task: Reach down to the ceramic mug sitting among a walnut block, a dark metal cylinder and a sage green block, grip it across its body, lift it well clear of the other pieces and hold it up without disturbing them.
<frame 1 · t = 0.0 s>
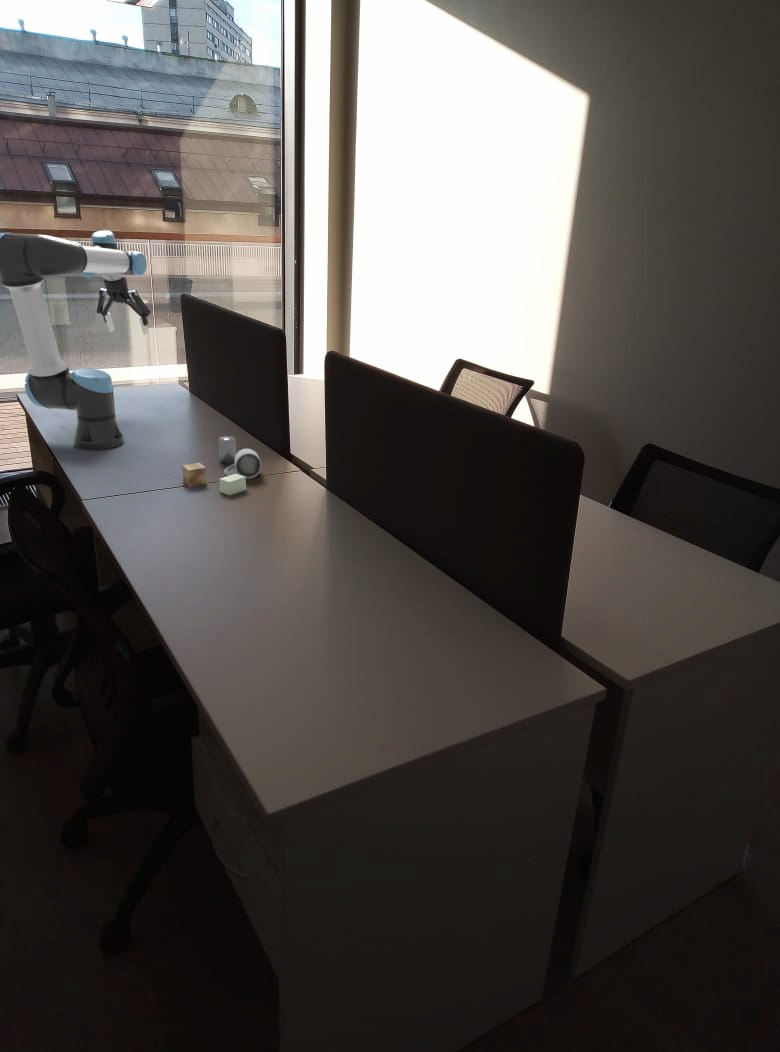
hand: (129, 331, 285), 28 cm above the table, tool tilted 20°, fingers open, 13 cm apart
sage green block: (233, 491, 213), on the table
walnut block: (195, 483, 218), on the table
dark metal cylinder: (228, 460, 238), on the table
ceramic mug: (243, 475, 226), on the table
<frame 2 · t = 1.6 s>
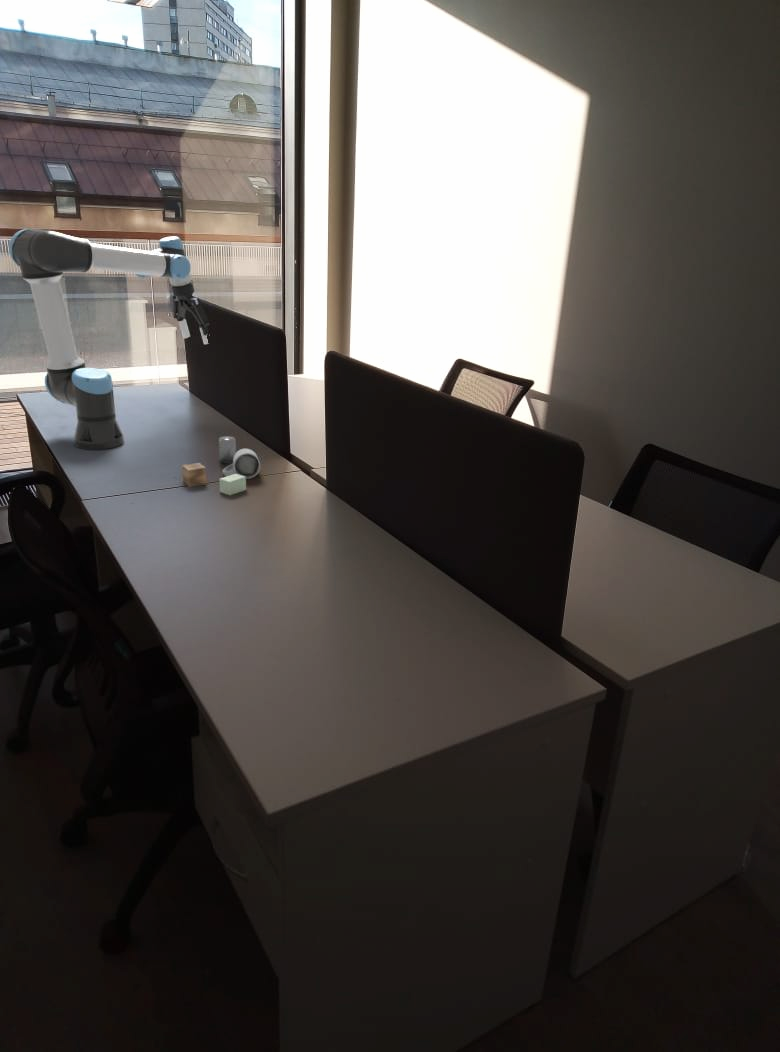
hand: (197, 340, 283), 26 cm above the table, tool pointing down, fingers open, 13 cm apart
nothing on the table moved.
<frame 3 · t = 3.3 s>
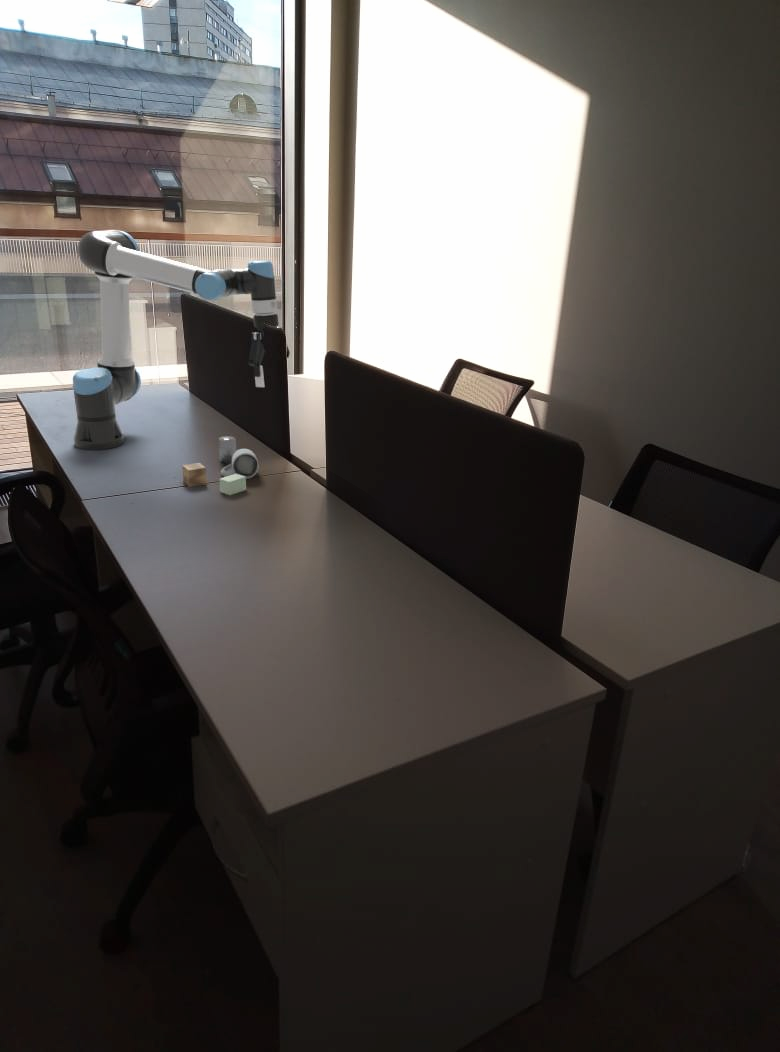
hand: (272, 382, 244), 21 cm above the table, tool pointing down, fingers open, 13 cm apart
nothing on the table moved.
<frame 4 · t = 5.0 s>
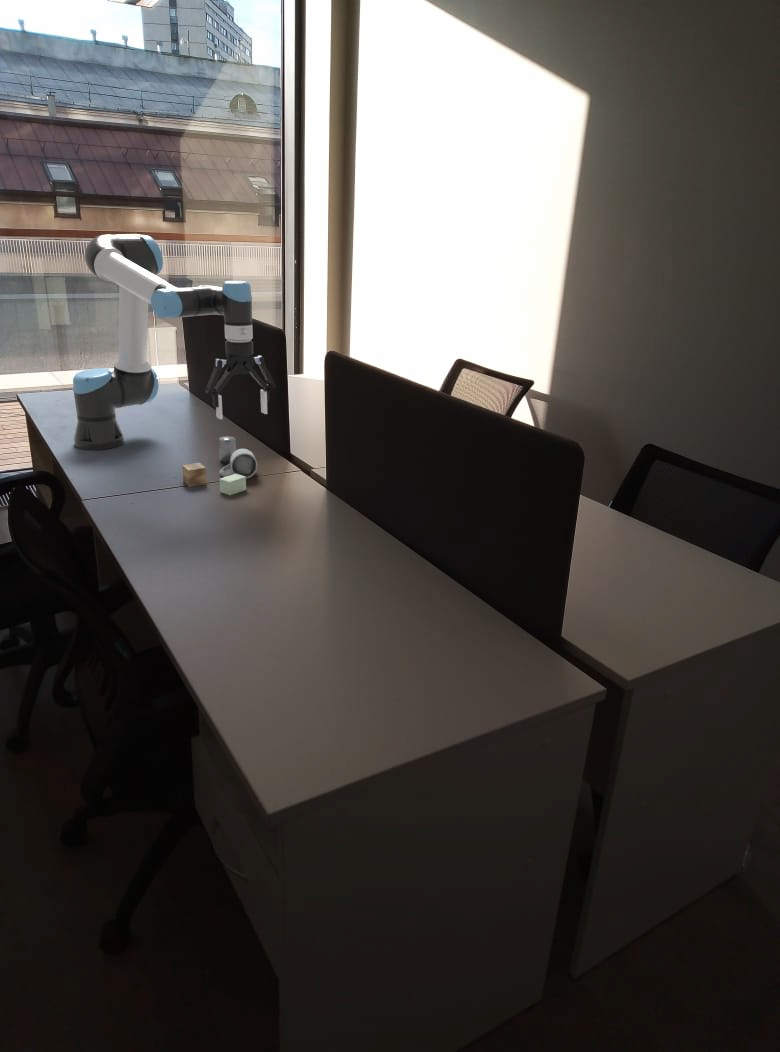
hand: (242, 415, 219), 18 cm above the table, tool pointing down, fingers open, 13 cm apart
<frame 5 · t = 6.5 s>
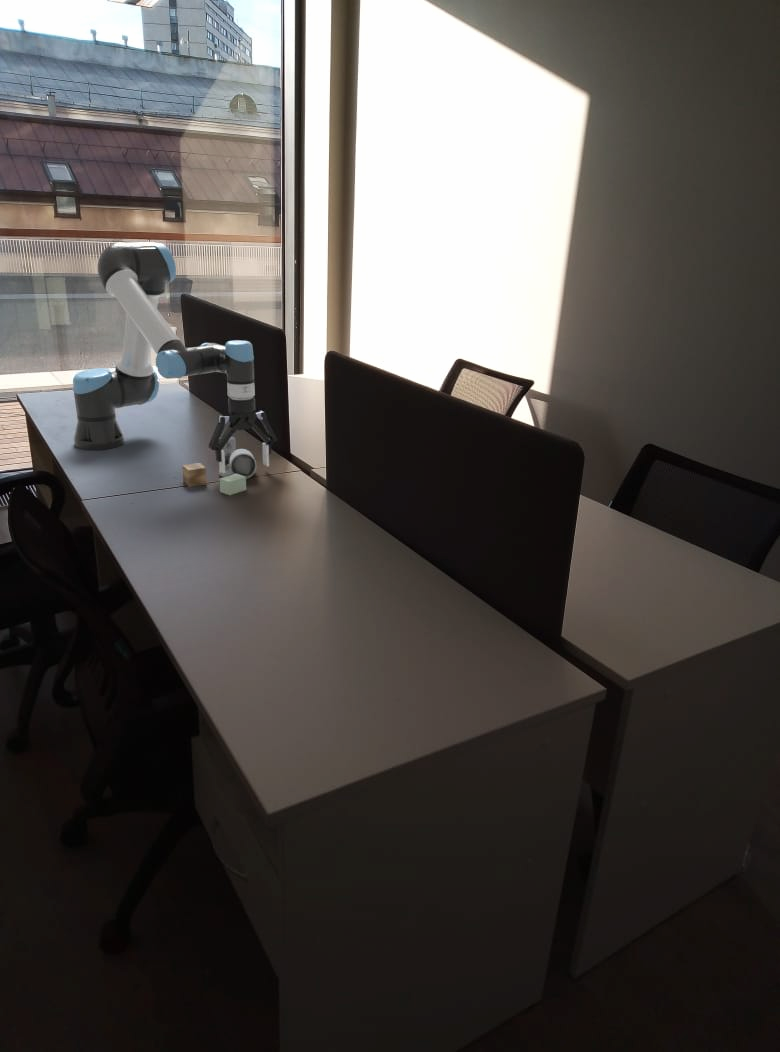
hand: (244, 468, 225), 2 cm above the table, tool pointing down, fingers open, 13 cm apart
ceramic mug: (238, 476, 225), on the table, touching gripper
everything else where it was.
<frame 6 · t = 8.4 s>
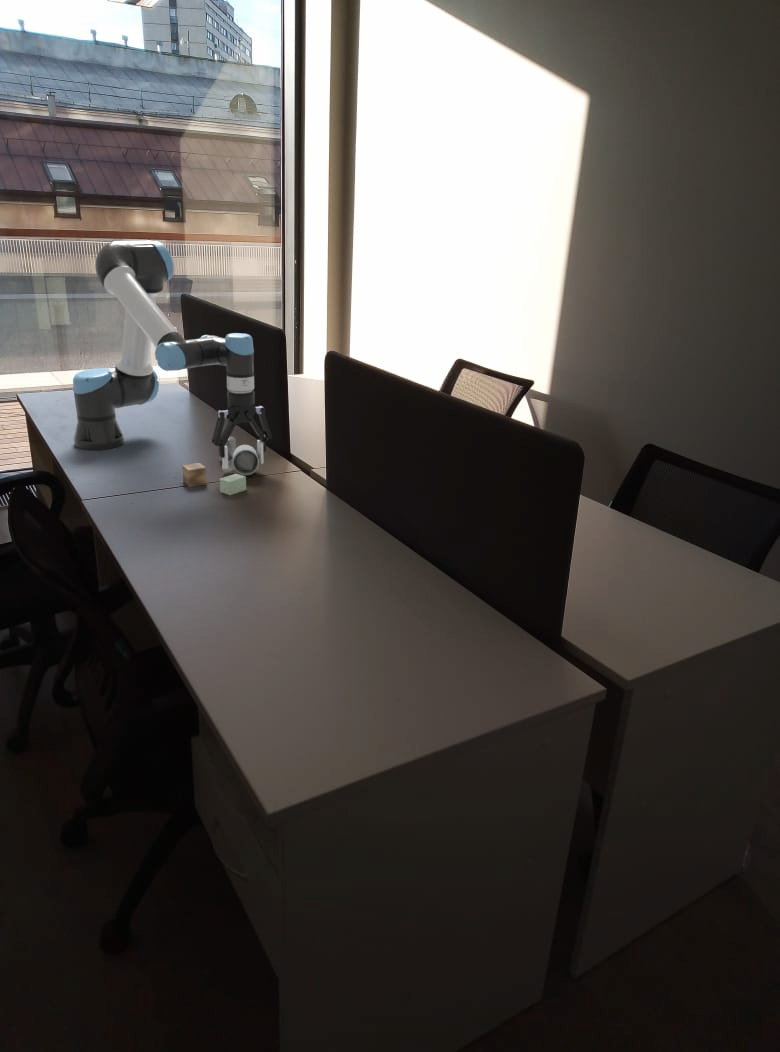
hand: (243, 464, 225), 3 cm above the table, tool pointing down, fingers closed on ceramic mug, 10 cm apart
ceramic mug: (241, 471, 226), point 1 cm above the table, touching gripper
everything else where it was.
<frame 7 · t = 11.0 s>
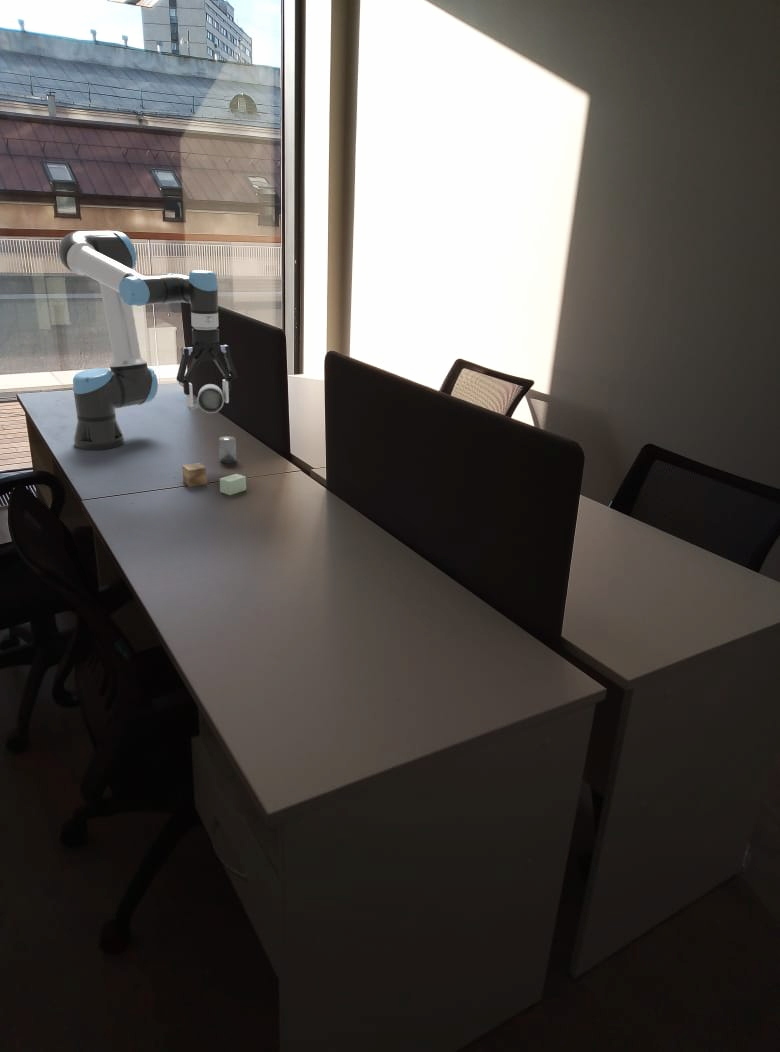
hand: (208, 403, 227), 19 cm above the table, tool pointing down, fingers closed on ceramic mug, 10 cm apart
ceramic mug: (206, 410, 229), point 16 cm above the table, touching gripper
everything else where it was.
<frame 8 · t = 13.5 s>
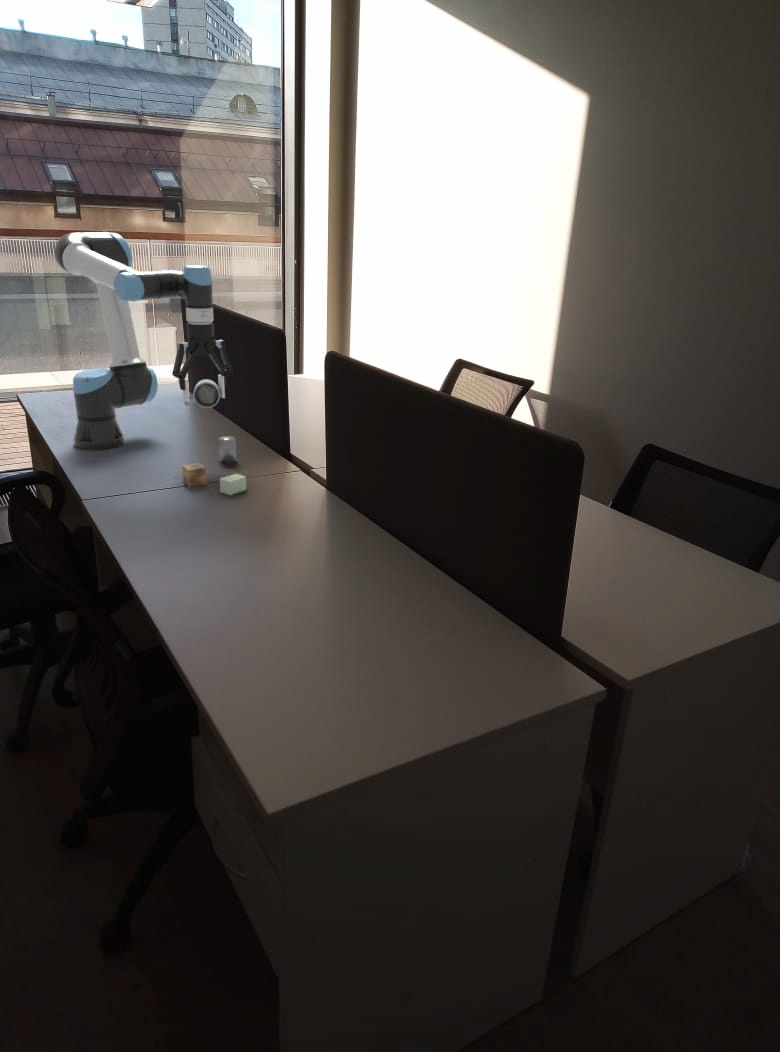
hand: (204, 398, 228), 20 cm above the table, tool pointing down, fingers closed on ceramic mug, 10 cm apart
ceramic mug: (202, 406, 229), point 17 cm above the table, touching gripper
everything else where it was.
at the end: the gripper is holding ceramic mug; ceramic mug point 17.4 cm above the table; walnut block moved 0.1 cm from its start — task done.
